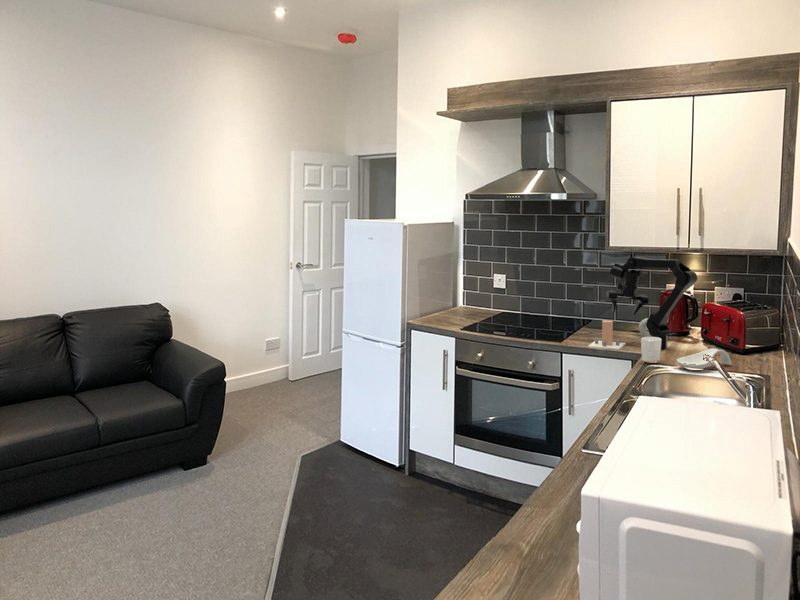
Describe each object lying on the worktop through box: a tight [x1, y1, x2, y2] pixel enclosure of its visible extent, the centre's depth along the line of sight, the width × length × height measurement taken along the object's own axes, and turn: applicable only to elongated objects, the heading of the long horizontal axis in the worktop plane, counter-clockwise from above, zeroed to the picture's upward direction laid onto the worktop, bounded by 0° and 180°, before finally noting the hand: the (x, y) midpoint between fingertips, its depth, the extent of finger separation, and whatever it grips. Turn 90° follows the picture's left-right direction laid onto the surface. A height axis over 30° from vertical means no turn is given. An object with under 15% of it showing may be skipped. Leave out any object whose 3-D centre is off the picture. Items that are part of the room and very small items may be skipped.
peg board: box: [587, 337, 627, 351], centre depth 291 cm, size 14×14×3 cm
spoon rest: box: [676, 348, 732, 368], centre depth 247 cm, size 24×12×7 cm, turn 112°
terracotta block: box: [601, 319, 614, 345], centre depth 290 cm, size 5×5×11 cm
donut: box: [638, 317, 652, 337], centre depth 306 cm, size 10×4×10 cm, turn 64°
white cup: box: [640, 336, 662, 361], centre depth 258 cm, size 8×8×10 cm
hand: (623, 313), depth 296 cm, fingers open, 9 cm apart
